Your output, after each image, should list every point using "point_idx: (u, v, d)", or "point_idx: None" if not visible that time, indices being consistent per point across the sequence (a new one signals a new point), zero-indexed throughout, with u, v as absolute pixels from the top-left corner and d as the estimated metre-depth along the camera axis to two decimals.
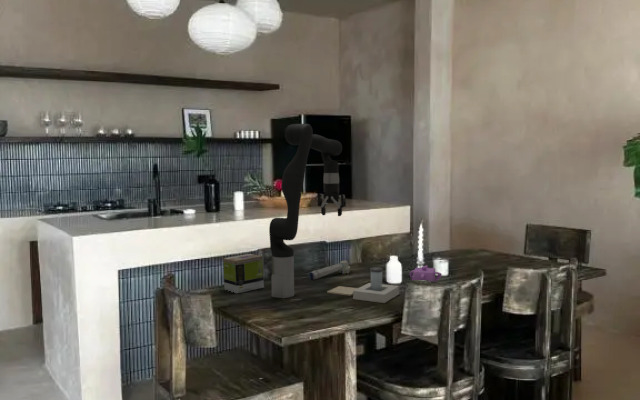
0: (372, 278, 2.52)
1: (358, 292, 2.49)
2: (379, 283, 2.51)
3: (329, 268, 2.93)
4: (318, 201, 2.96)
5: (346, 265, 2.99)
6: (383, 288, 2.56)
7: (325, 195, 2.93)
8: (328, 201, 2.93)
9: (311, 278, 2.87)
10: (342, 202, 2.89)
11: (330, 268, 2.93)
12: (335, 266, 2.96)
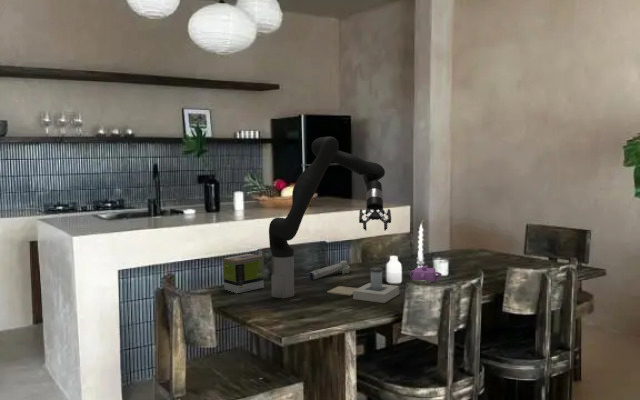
0: (372, 278, 2.52)
1: (358, 292, 2.49)
2: (379, 283, 2.51)
3: (329, 268, 2.93)
4: (360, 215, 2.69)
5: (346, 265, 3.00)
6: (383, 288, 2.56)
7: (368, 210, 2.71)
8: (372, 215, 2.69)
9: (311, 278, 2.87)
10: (389, 215, 2.69)
11: (330, 268, 2.93)
12: (335, 266, 2.96)
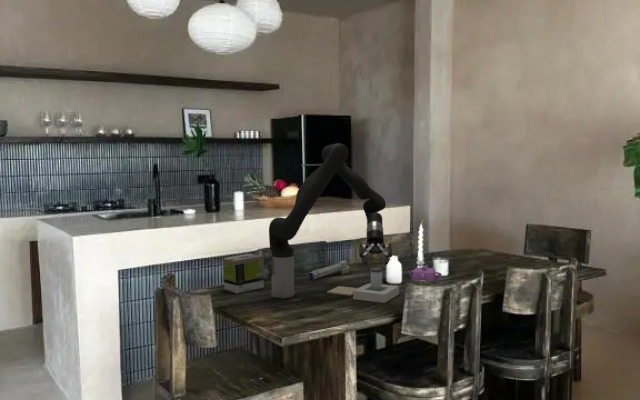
0: (372, 278, 2.52)
1: (358, 292, 2.49)
2: (379, 283, 2.51)
3: (329, 268, 2.93)
4: (360, 249, 2.64)
5: (345, 265, 2.99)
6: (383, 288, 2.56)
7: (369, 244, 2.65)
8: (372, 249, 2.63)
9: (311, 278, 2.86)
10: (390, 249, 2.63)
11: (330, 268, 2.93)
12: (334, 266, 2.95)
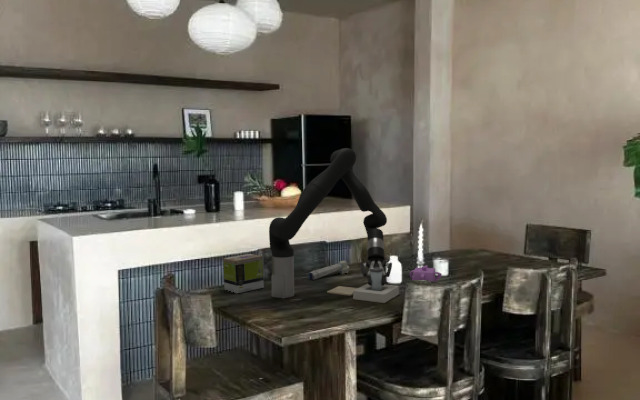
0: (372, 278, 2.52)
1: (358, 292, 2.49)
2: (379, 283, 2.51)
3: (328, 268, 2.92)
4: (363, 269, 2.55)
5: (345, 265, 2.99)
6: (383, 288, 2.56)
7: (369, 261, 2.58)
8: None
9: (310, 278, 2.86)
10: (389, 269, 2.55)
11: (329, 268, 2.93)
12: (334, 266, 2.95)
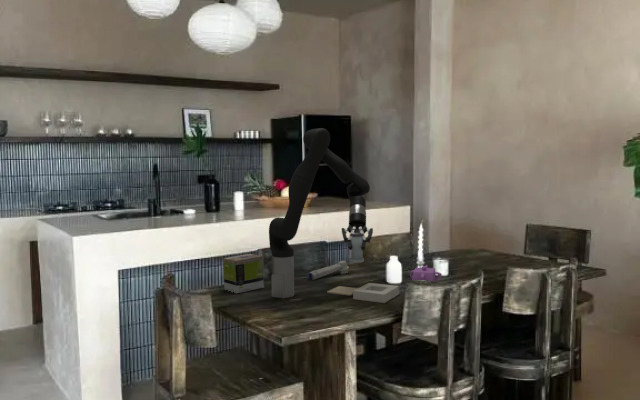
0: (352, 242, 2.56)
1: (358, 292, 2.49)
2: (359, 247, 2.55)
3: (328, 268, 2.92)
4: (344, 234, 2.59)
5: (345, 265, 2.99)
6: (383, 288, 2.56)
7: (350, 227, 2.62)
8: (355, 232, 2.60)
9: (310, 278, 2.86)
10: (369, 234, 2.58)
11: (329, 268, 2.93)
12: (334, 266, 2.95)
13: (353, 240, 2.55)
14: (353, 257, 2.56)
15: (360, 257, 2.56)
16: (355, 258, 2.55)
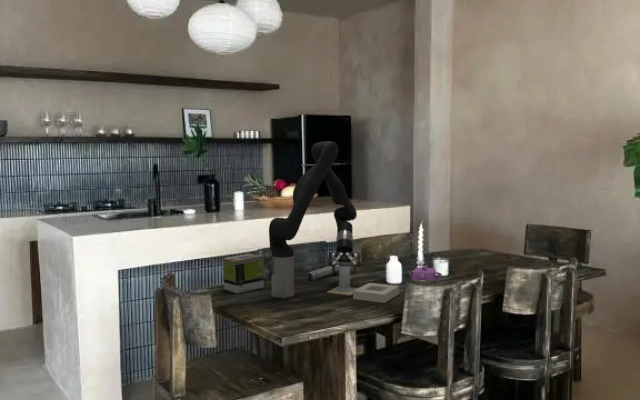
0: (340, 272, 2.61)
1: (358, 292, 2.49)
2: (347, 277, 2.61)
3: (327, 268, 2.92)
4: (329, 258, 2.65)
5: None
6: (383, 288, 2.56)
7: (338, 253, 2.67)
8: (341, 258, 2.65)
9: (309, 278, 2.86)
10: (359, 258, 2.64)
11: (328, 268, 2.92)
12: None
13: (341, 269, 2.61)
14: (341, 286, 2.62)
15: (348, 286, 2.62)
16: (343, 287, 2.61)
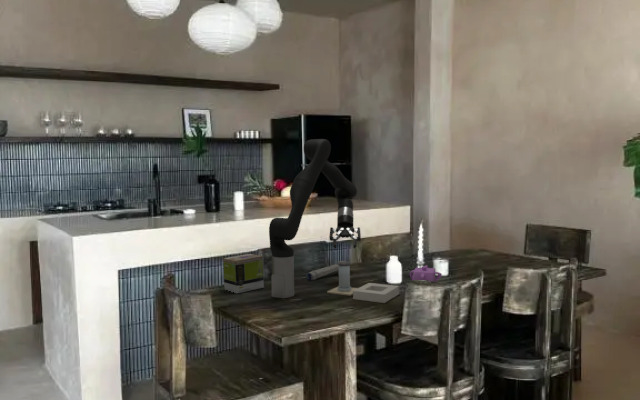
0: (340, 272, 2.61)
1: (358, 292, 2.49)
2: (346, 277, 2.61)
3: (327, 268, 2.92)
4: (330, 233, 2.77)
5: None
6: (383, 288, 2.56)
7: (339, 228, 2.79)
8: (342, 233, 2.77)
9: (309, 279, 2.86)
10: (359, 233, 2.76)
11: (328, 268, 2.92)
12: (333, 266, 2.95)
13: (340, 269, 2.61)
14: (341, 286, 2.62)
15: (347, 286, 2.62)
16: (343, 287, 2.61)
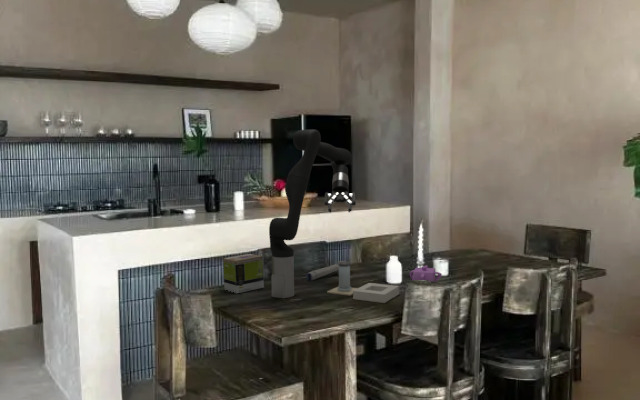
0: (340, 272, 2.61)
1: (358, 292, 2.49)
2: (347, 277, 2.61)
3: (327, 268, 2.92)
4: (325, 198, 2.77)
5: None
6: (383, 288, 2.56)
7: (334, 193, 2.79)
8: (337, 198, 2.77)
9: (309, 279, 2.85)
10: (354, 198, 2.76)
11: (328, 268, 2.92)
12: (333, 266, 2.94)
13: (340, 270, 2.61)
14: (341, 286, 2.62)
15: (347, 286, 2.62)
16: (342, 287, 2.61)
